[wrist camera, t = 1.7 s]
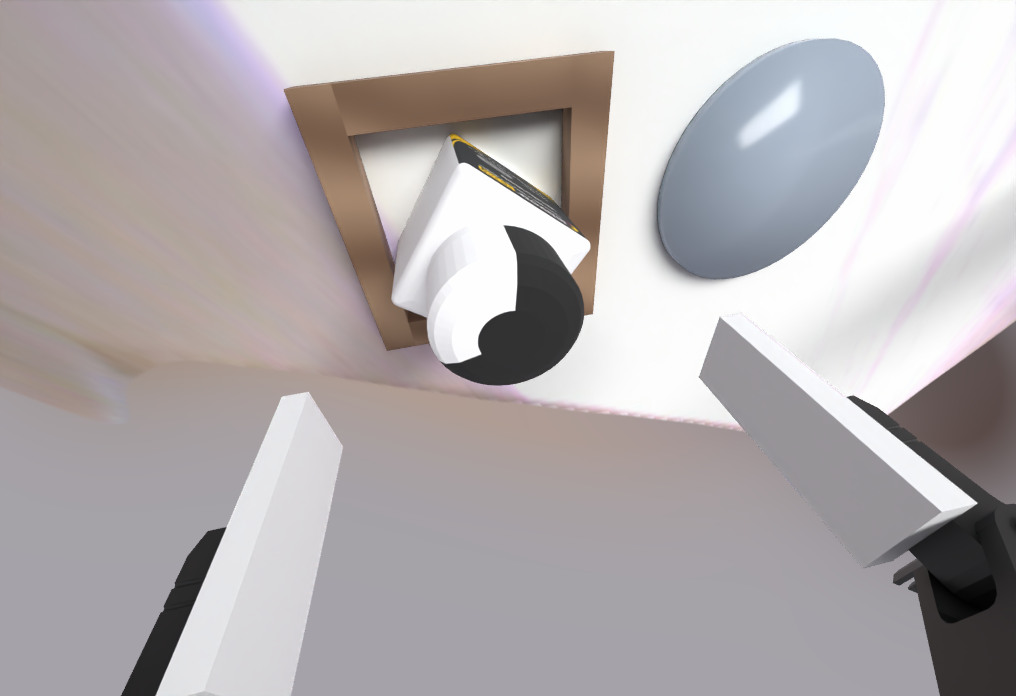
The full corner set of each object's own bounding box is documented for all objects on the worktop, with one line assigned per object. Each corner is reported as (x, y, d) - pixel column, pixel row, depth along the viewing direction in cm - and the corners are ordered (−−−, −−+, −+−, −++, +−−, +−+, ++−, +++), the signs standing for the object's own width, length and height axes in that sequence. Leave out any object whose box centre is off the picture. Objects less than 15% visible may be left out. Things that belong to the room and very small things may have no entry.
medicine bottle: (554, 198, 22) (644, 301, 13) (494, 289, 26) (533, 422, 17) (449, 129, 19) (474, 202, 10) (396, 243, 22) (378, 377, 13)
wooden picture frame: (293, 86, 17) (283, 89, 16) (602, 51, 18) (614, 51, 17) (388, 337, 27) (387, 350, 25) (585, 302, 28) (592, 313, 27)
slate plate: (684, 54, 19) (693, 54, 18) (922, 25, 20) (938, 25, 19) (642, 287, 28) (647, 293, 27) (808, 258, 29) (816, 263, 28)
